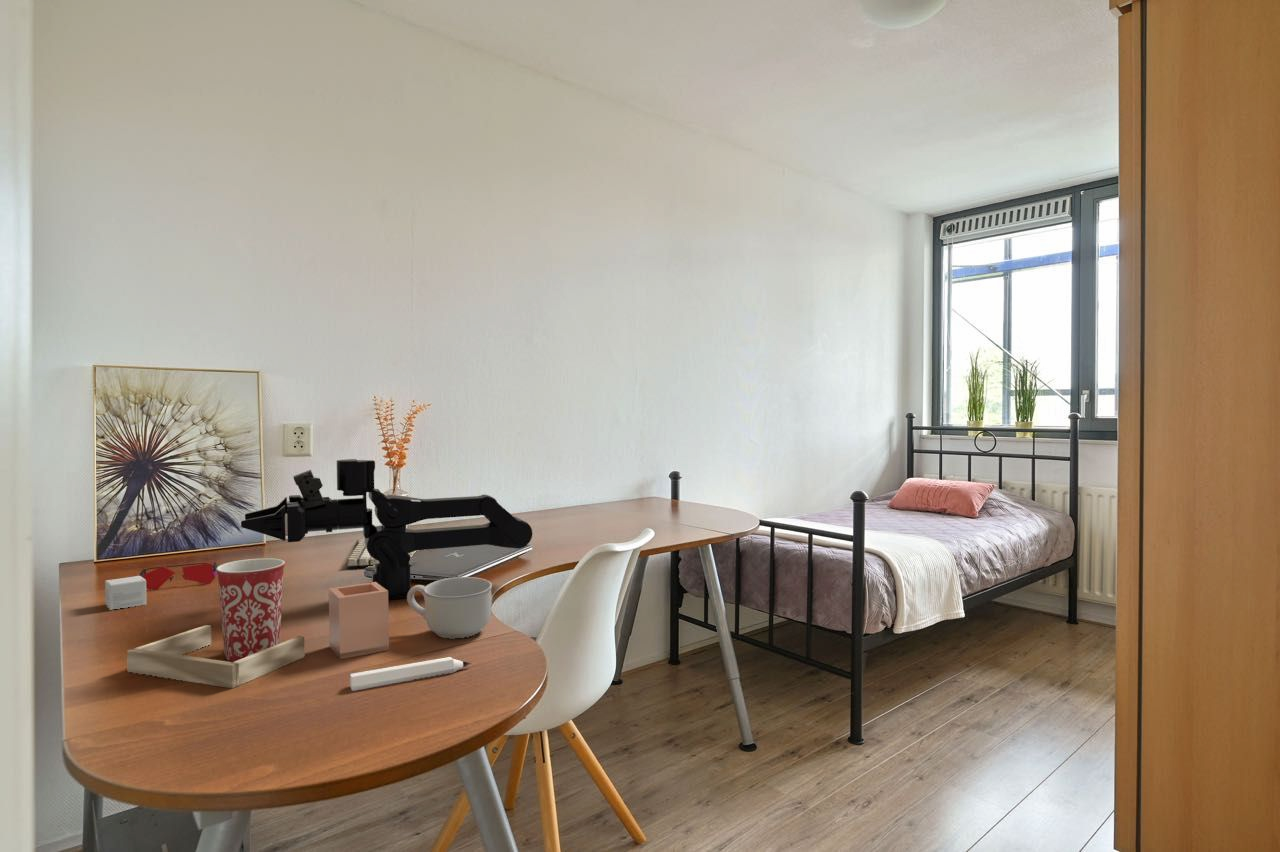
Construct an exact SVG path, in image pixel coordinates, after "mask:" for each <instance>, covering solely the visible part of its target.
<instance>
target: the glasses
mask: <svg viewBox="0 0 1280 852" xmlns="http://www.w3.org/2000/svg"><path fill="white" fill-rule="evenodd" d="M173 567H174V568H175V567H176V568H177V567H182V568H181V569H182V573H183V574H182V575H181V576H182V577H183V579H184V580H186V581H192V582H197V583H201V584H202V583H203V584H206V585H210V584H211V583H212V582H213V581H214V579H216V575H217V571H216V568H217V567H218V566H217V562H216V561H215V562H213V563H212V562H211V563H209V562H198V563H188V564H178V565H177V564H176V565H167V566H165V565H163V566H155V567H149V568H143V569H142V571H141V572H140V573H139V575H138V576H141V577H142V578H144V579H145V580H146V590H150V591H152V590H151V589H157V590H159V588H160V587H162V586H163V585H164V584H165V583H166V582H167V581H168V580H169V583H170V582H172V580H173V579H174V577H175V573H176V572H175V571H173V570H171V569H170V568H173ZM152 569H153V570H152ZM149 570H151V571H149ZM147 571H148V572H147Z"/></svg>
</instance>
